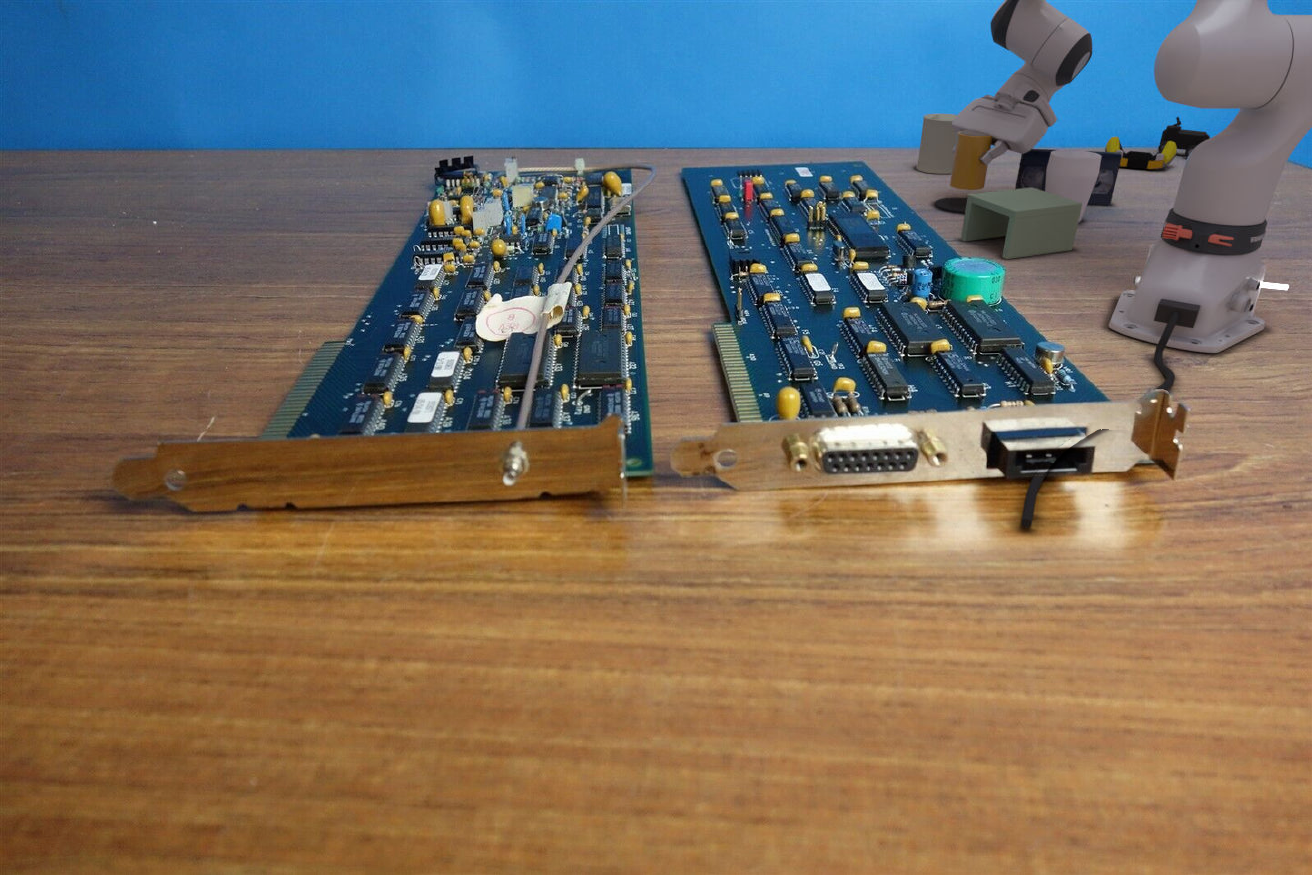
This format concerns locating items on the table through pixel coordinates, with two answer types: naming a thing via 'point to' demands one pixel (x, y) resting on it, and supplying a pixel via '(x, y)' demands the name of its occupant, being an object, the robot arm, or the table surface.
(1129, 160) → the gaming controller
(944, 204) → the mat
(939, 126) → the can
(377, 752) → the table surface
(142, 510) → the table surface
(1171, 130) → the toy vehicle
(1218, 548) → the table surface
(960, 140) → the tumbler
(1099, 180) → the vhs cassette tape
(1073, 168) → the cup
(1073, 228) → the shelf
